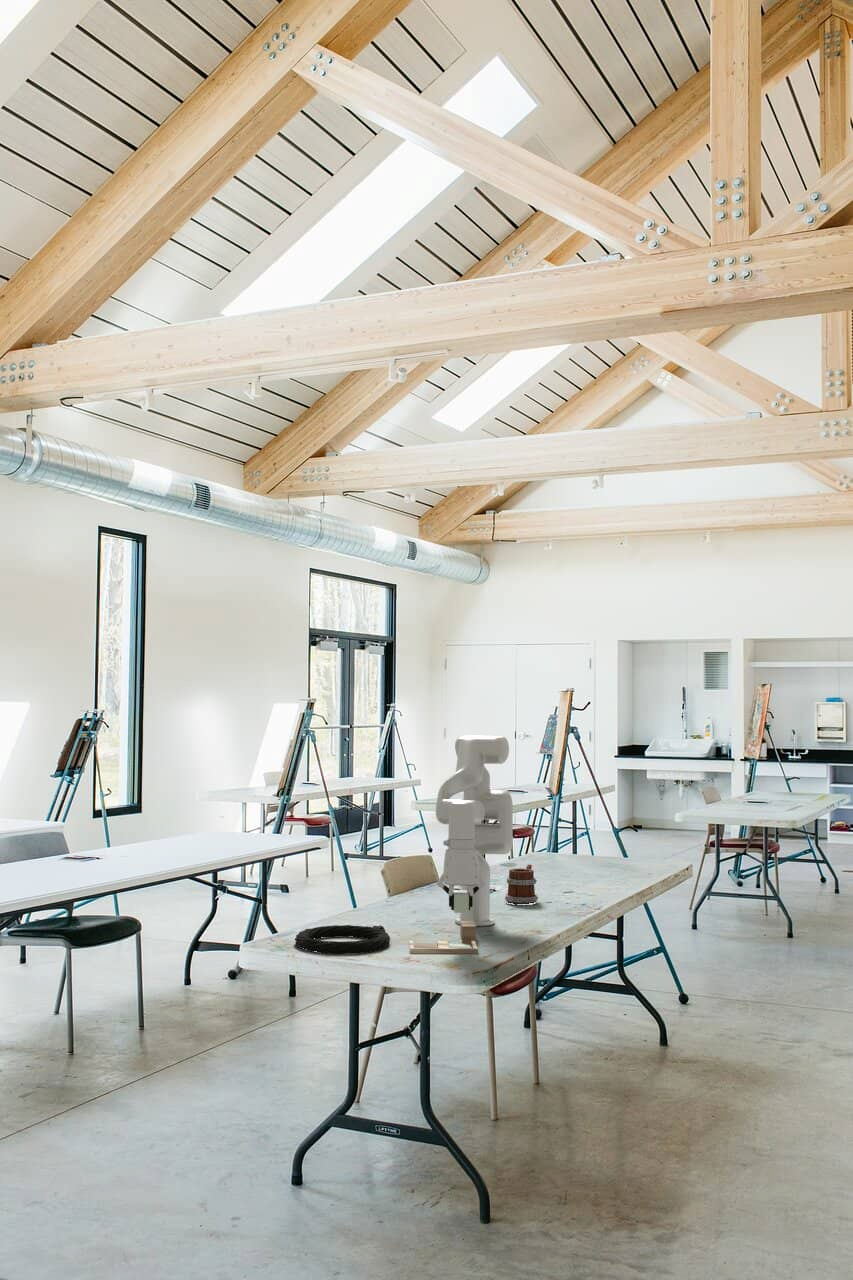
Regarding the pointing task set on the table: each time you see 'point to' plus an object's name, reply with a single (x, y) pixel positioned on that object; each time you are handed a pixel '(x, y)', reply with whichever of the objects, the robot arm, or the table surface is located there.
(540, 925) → the table surface
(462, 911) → the sage bar
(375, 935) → the cable lock
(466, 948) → the oak rack
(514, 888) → the mug
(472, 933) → the walnut bar
